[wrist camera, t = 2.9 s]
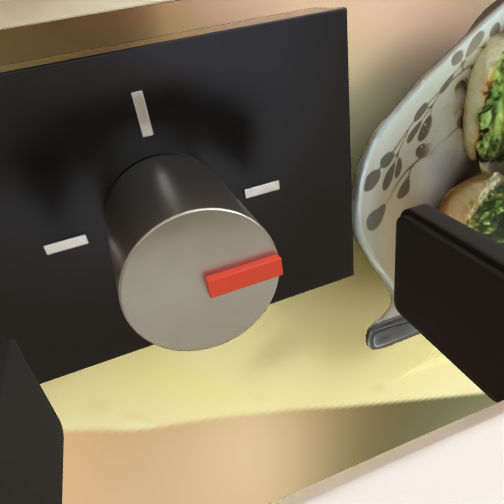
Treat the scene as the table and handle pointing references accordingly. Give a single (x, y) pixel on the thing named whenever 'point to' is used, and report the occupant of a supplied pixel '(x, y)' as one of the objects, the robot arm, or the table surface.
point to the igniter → (60, 10)
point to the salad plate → (436, 157)
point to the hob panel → (167, 143)
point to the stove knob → (187, 255)
